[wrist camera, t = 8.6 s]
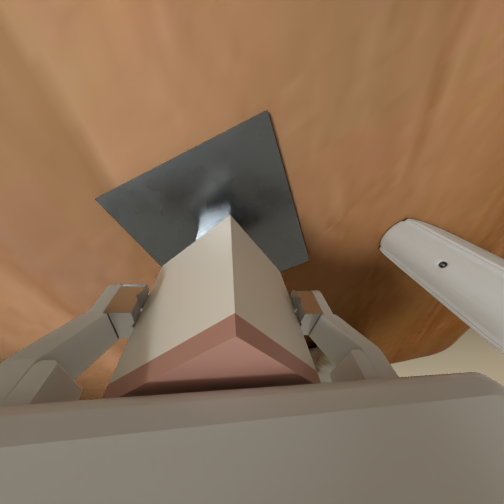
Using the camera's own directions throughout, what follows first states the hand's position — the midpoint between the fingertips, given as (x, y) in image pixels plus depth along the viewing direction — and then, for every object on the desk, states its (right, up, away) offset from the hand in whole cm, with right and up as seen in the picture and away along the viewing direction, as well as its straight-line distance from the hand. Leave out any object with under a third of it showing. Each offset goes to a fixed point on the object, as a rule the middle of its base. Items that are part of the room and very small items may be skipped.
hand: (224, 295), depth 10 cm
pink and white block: (0, +1, +2) cm, 2 cm away
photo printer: (+18, +3, +9) cm, 21 cm away
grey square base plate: (-1, +4, +5) cm, 7 cm away
